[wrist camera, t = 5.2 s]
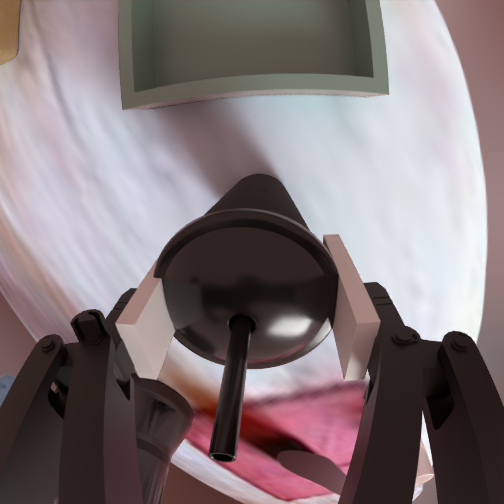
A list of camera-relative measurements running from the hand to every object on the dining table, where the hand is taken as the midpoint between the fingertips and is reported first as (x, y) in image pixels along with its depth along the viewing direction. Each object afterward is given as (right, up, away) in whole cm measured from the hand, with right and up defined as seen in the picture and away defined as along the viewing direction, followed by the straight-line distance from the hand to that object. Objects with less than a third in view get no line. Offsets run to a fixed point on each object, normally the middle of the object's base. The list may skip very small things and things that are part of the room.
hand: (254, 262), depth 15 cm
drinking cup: (+1, +5, +9) cm, 10 cm away
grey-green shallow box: (0, +20, +2) cm, 20 cm away
